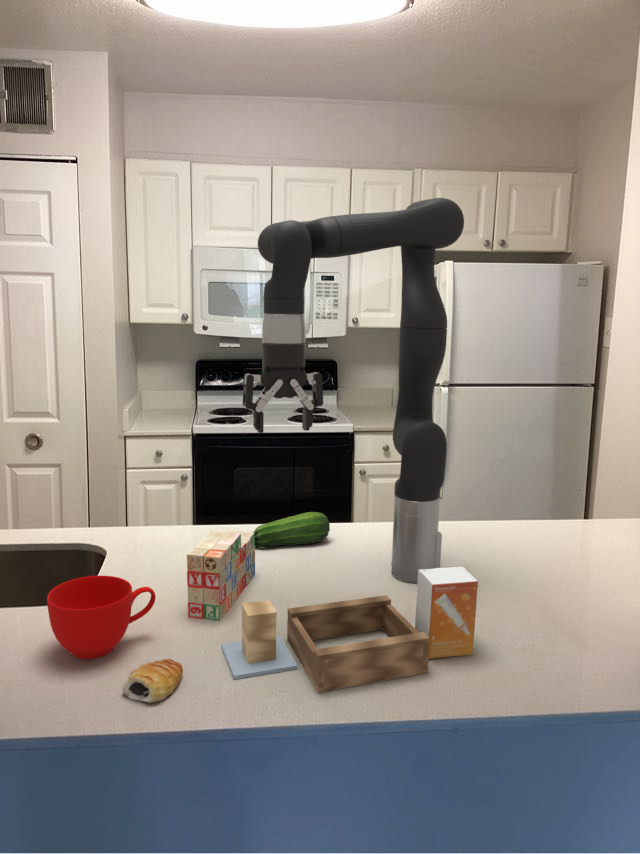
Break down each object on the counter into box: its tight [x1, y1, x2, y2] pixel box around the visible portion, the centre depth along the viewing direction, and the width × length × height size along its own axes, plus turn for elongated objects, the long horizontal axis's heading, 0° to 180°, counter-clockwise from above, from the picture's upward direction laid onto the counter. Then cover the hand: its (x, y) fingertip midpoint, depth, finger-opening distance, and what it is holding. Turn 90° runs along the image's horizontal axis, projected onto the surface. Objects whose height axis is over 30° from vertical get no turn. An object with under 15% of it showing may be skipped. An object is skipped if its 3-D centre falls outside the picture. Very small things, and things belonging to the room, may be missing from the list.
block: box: [241, 599, 277, 664], centre depth 109 cm, size 4×4×8 cm
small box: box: [414, 566, 479, 660], centre depth 113 cm, size 8×6×13 cm
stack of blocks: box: [186, 530, 256, 622], centre depth 132 cm, size 21×6×12 cm, turn 168°
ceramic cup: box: [46, 575, 156, 660], centre depth 112 cm, size 13×17×10 cm
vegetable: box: [251, 511, 331, 548], centre depth 160 cm, size 7×7×20 cm
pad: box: [220, 635, 298, 680], centre depth 110 cm, size 10×10×1 cm
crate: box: [286, 594, 430, 693], centre depth 110 cm, size 18×16×6 cm
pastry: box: [122, 658, 184, 704], centre depth 101 cm, size 9×7×4 cm
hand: (283, 431), depth 123 cm, fingers open, 8 cm apart
